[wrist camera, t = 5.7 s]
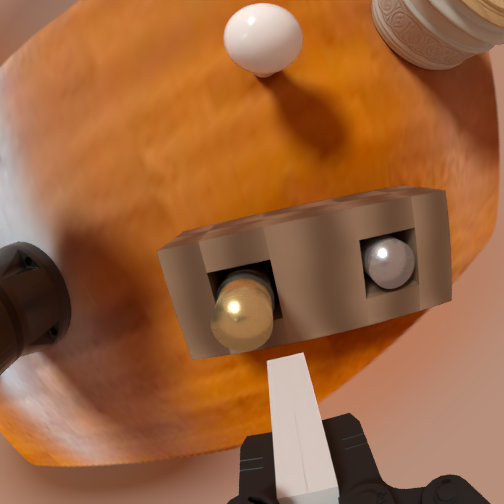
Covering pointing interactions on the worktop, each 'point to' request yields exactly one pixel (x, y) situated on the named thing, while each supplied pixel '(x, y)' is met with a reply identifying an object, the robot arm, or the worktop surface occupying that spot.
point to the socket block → (313, 265)
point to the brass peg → (244, 308)
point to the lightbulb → (263, 38)
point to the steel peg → (387, 260)
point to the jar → (439, 29)
